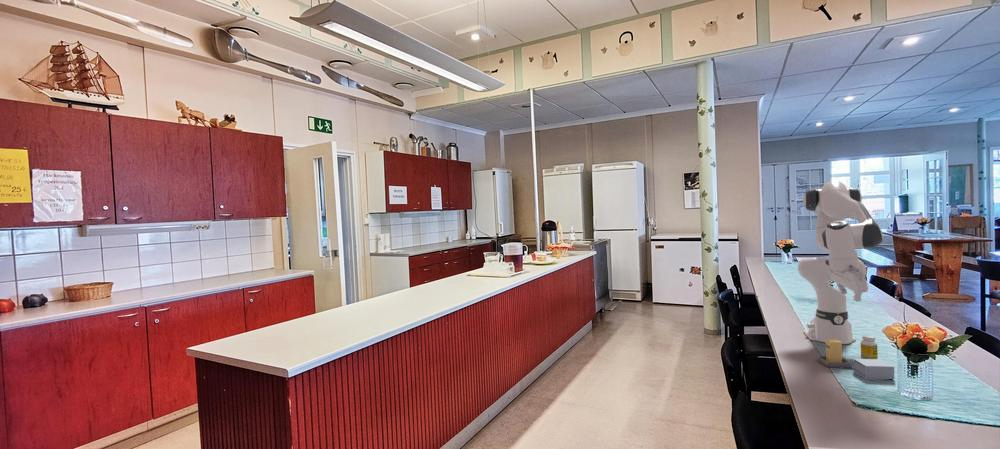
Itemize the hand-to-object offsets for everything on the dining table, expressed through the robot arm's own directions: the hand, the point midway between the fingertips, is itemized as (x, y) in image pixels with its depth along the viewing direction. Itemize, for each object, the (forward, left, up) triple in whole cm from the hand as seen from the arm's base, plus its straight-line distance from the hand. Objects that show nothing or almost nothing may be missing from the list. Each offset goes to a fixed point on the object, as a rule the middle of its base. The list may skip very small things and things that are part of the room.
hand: (850, 297), depth 176 cm
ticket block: (+7, +3, -28) cm, 29 cm away
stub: (-5, -4, -28) cm, 28 cm away
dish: (-5, -4, -28) cm, 29 cm away
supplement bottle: (-12, +12, -28) cm, 33 cm away
